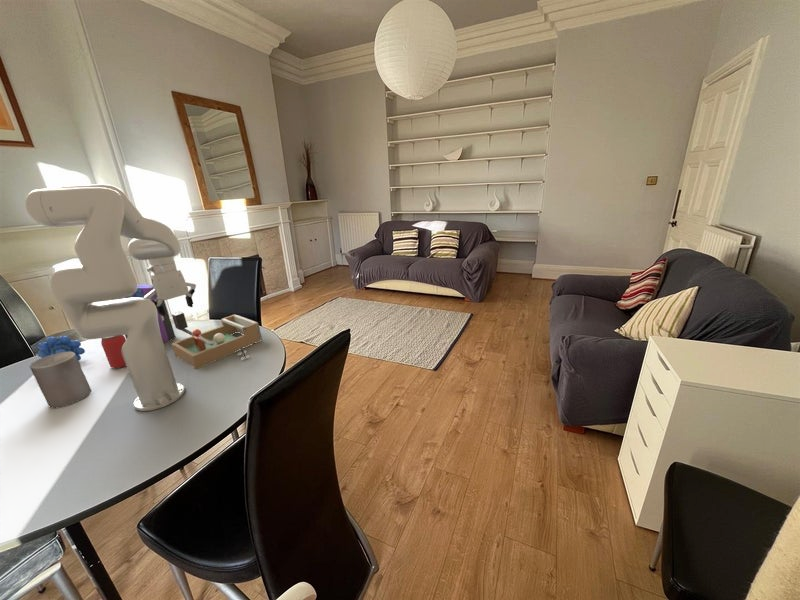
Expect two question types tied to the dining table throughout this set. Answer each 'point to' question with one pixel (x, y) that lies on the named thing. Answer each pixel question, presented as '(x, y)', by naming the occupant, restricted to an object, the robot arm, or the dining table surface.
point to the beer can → (114, 350)
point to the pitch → (218, 350)
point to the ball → (219, 338)
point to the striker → (182, 324)
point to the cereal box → (163, 321)
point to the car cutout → (243, 354)
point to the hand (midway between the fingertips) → (177, 310)
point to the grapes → (60, 346)
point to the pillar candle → (60, 379)
